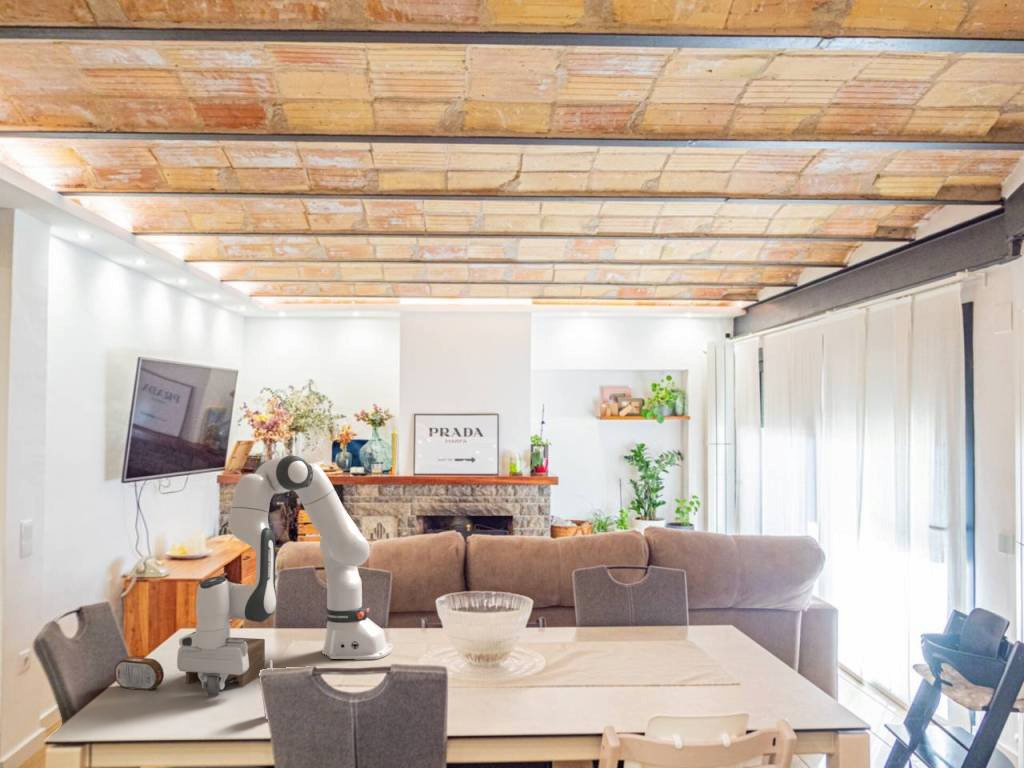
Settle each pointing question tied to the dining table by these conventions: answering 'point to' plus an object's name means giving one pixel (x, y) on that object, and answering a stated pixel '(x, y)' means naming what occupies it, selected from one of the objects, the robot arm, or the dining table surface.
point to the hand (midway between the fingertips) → (213, 688)
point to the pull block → (215, 679)
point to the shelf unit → (254, 656)
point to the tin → (139, 673)
